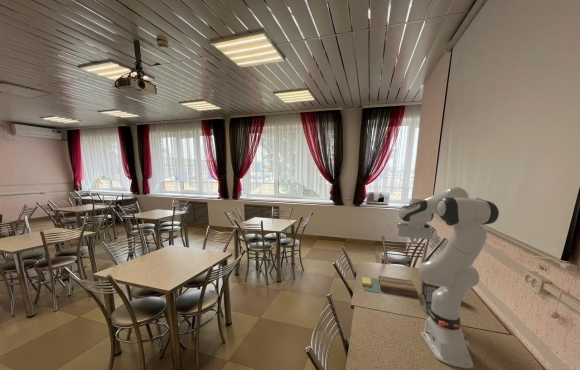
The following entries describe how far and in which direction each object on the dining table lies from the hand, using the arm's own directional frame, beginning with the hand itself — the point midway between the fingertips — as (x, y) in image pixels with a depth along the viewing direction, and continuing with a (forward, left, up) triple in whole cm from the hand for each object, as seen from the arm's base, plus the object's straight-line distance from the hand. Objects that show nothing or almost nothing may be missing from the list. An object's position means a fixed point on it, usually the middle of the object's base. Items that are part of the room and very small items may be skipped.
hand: (413, 244), depth 144 cm
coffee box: (-15, -6, -34) cm, 38 cm away
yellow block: (+4, +28, -32) cm, 42 cm away
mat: (+4, +24, -34) cm, 42 cm away
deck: (+4, +8, -34) cm, 35 cm away
